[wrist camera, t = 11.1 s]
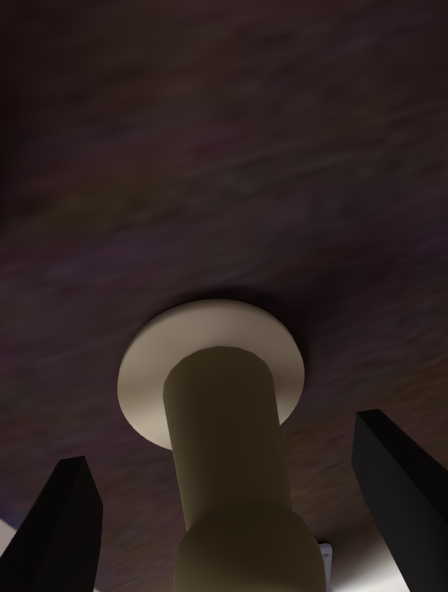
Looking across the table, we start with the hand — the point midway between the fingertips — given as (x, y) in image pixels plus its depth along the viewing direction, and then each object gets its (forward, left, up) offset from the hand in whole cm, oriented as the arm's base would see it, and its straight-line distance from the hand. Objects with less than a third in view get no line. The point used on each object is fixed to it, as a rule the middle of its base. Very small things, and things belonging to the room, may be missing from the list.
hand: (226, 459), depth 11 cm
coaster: (-6, 0, -10) cm, 12 cm away
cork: (-6, 0, -10) cm, 11 cm away
